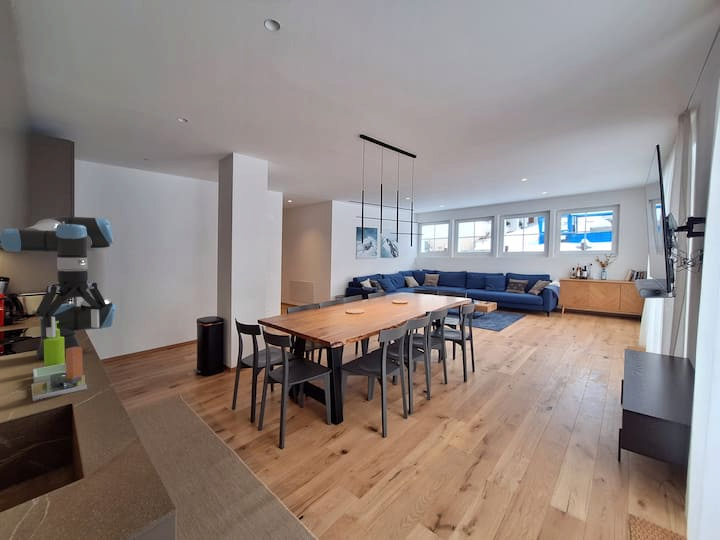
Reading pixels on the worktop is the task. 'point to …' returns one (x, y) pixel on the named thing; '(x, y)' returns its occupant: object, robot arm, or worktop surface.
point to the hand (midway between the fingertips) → (74, 331)
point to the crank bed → (55, 389)
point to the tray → (47, 372)
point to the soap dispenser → (54, 349)
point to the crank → (70, 368)
